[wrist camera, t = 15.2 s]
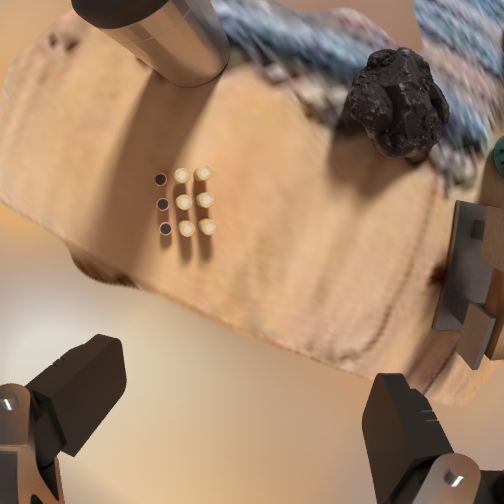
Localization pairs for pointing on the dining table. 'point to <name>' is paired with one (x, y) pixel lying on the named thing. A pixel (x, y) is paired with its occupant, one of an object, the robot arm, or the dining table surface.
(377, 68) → the crystal cluster
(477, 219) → the bracket stand
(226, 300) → the dining table surface
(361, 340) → the dining table surface
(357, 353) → the dining table surface
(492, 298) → the walnut rail
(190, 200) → the ammunition
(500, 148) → the beverage bottle
